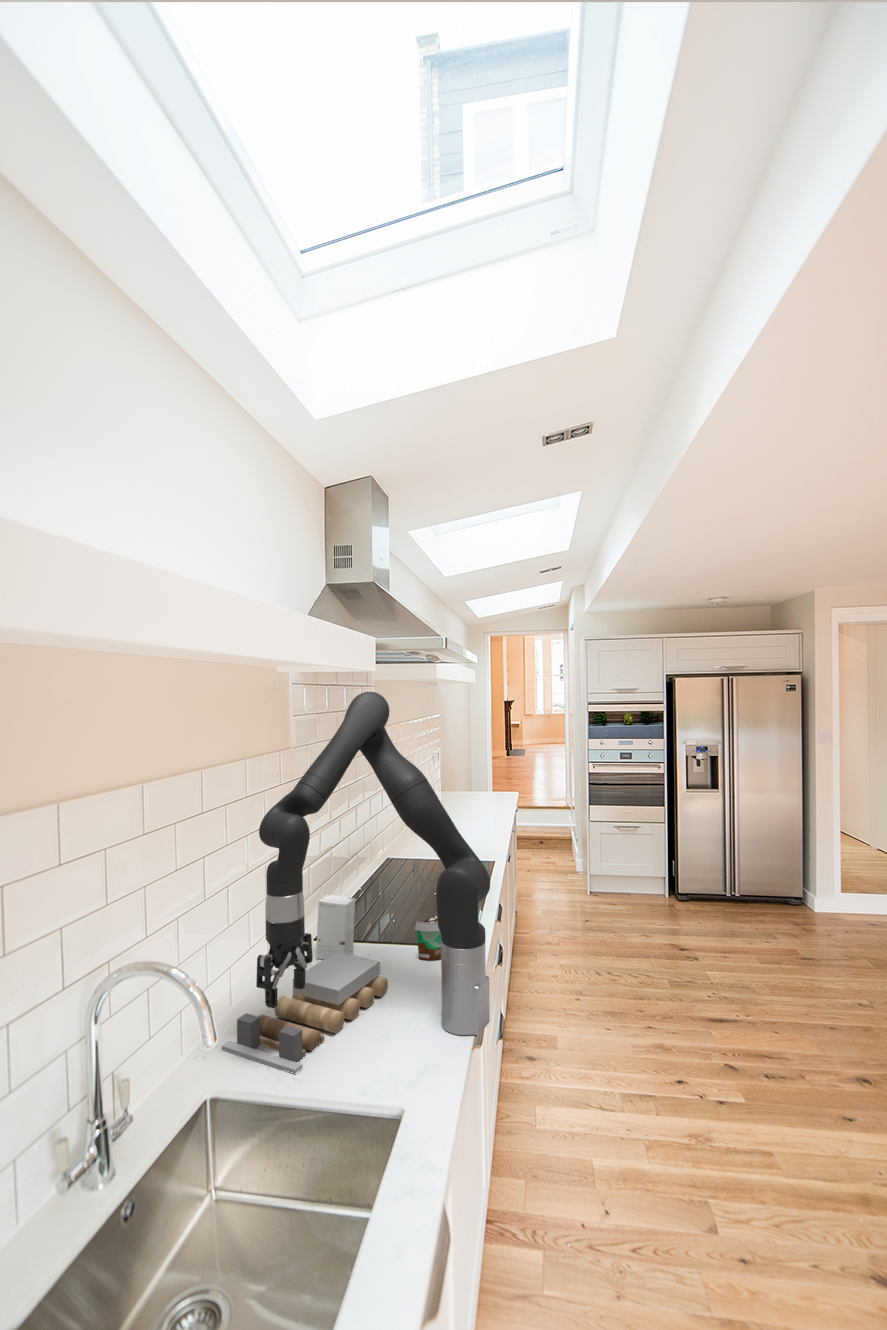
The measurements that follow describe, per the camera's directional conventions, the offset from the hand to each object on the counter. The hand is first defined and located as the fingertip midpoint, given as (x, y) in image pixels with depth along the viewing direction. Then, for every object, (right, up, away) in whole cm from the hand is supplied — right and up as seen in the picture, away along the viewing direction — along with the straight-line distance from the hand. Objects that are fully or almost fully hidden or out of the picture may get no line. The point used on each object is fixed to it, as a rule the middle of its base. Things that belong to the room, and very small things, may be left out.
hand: (286, 997), depth 132 cm
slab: (+8, -5, +17) cm, 19 cm away
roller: (0, -9, +1) cm, 9 cm away
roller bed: (+5, -9, +11) cm, 15 cm away
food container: (+30, -10, +41) cm, 52 cm away
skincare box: (+3, -10, +41) cm, 42 cm away
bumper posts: (-2, -9, -3) cm, 10 cm away
